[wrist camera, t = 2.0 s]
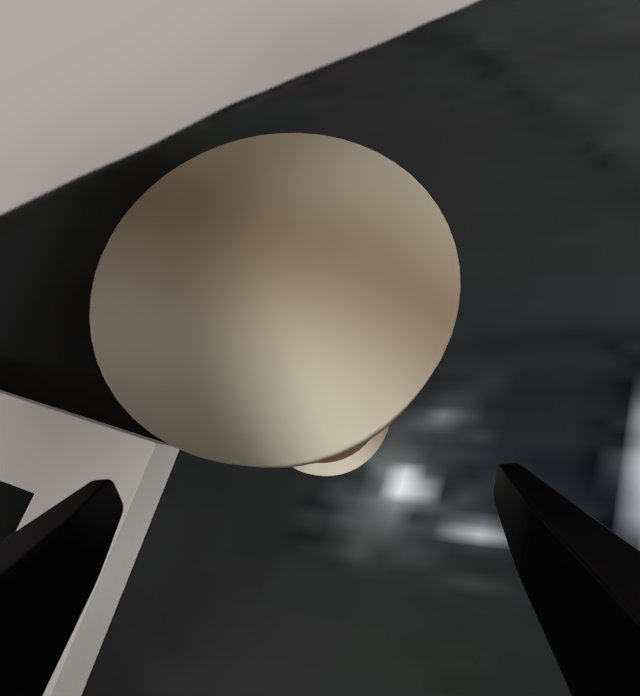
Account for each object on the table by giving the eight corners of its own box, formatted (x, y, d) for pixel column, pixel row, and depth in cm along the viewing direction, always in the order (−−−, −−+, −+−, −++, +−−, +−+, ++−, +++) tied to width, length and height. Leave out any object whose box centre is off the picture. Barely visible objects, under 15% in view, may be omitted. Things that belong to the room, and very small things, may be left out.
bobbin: (372, 493, 18) (416, 527, 5) (248, 454, 19) (20, 398, 6) (401, 368, 20) (487, 158, 7) (287, 340, 21) (177, 115, 8)
